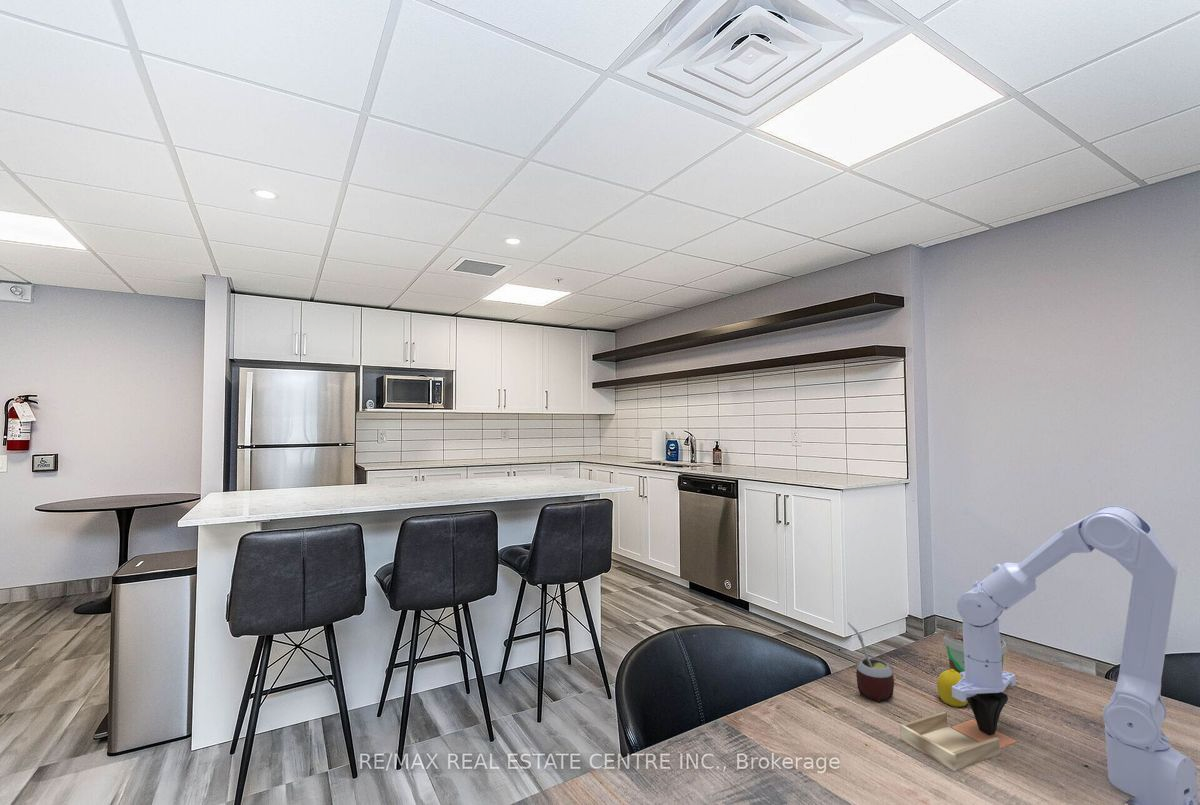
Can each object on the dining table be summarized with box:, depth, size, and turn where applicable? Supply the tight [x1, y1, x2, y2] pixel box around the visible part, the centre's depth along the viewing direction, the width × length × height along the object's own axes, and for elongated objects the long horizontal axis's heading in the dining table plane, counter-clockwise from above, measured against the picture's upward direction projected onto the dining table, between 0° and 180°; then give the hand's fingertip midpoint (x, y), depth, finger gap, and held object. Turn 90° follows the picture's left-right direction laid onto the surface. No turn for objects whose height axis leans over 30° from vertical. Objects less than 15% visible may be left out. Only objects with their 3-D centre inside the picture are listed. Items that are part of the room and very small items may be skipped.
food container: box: [942, 633, 1008, 673], centre depth 120 cm, size 12×6×10 cm, turn 73°
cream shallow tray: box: [899, 710, 1001, 772], centre depth 96 cm, size 10×11×4 cm
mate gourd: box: [847, 622, 895, 703], centre depth 116 cm, size 8×8×15 cm
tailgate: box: [950, 719, 1018, 749], centre depth 100 cm, size 1×8×6 cm
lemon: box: [936, 668, 969, 708], centre depth 111 cm, size 6×6×8 cm
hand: (986, 731), depth 100 cm, fingers closed
